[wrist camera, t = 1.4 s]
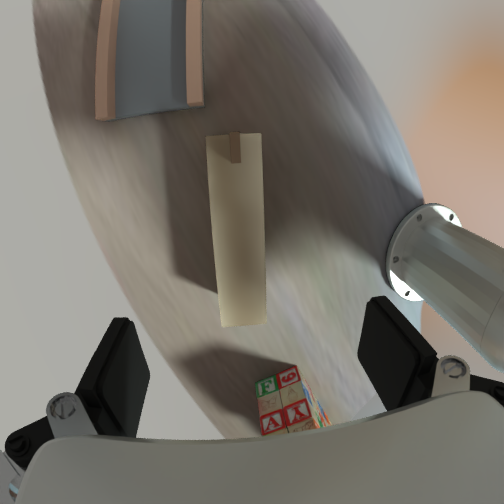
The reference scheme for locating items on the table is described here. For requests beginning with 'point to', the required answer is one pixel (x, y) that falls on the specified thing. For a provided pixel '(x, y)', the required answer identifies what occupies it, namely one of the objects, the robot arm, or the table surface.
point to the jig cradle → (148, 58)
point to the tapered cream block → (238, 226)
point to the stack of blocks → (288, 404)
